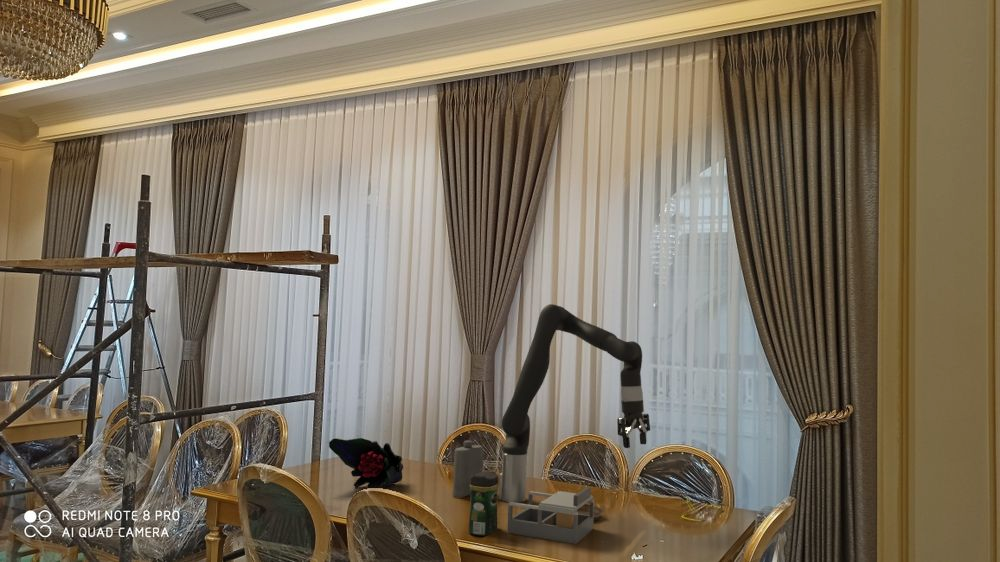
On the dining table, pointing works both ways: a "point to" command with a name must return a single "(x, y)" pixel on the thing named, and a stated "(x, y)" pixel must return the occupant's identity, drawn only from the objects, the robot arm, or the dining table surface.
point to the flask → (466, 467)
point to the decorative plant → (369, 461)
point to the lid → (566, 501)
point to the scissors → (692, 510)
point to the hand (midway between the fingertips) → (635, 446)
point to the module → (564, 520)
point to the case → (548, 522)
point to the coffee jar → (483, 503)
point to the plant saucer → (586, 511)
